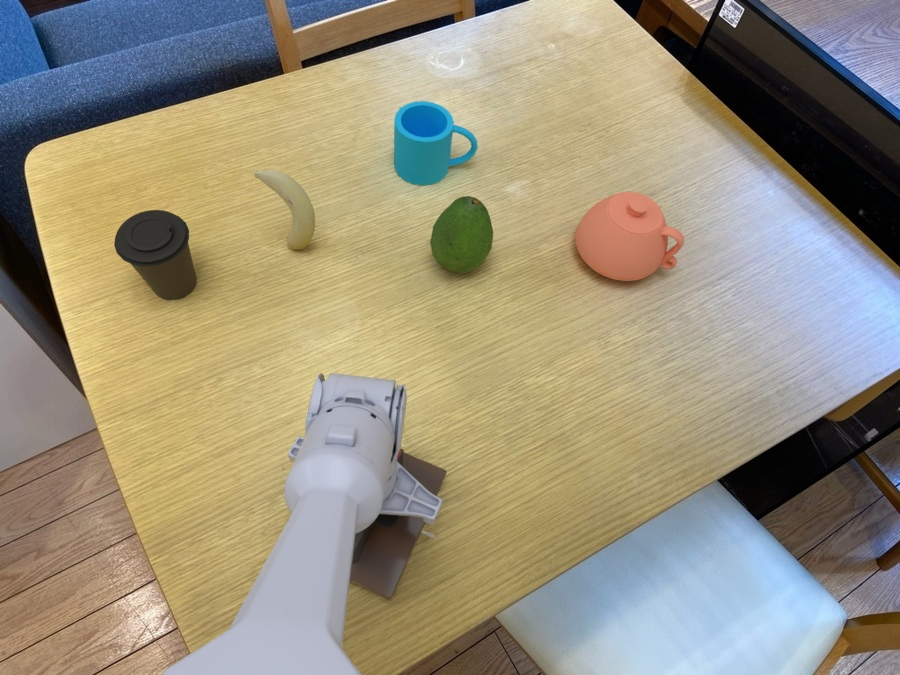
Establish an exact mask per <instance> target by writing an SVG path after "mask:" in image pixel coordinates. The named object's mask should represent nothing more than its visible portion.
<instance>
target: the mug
mask: <svg viewBox="0 0 900 675" xmlns="http://www.w3.org/2000/svg"><path fill="white" fill-rule="evenodd" d="M393 120H394V123H393V126H394V127H393V166H394V170H395V173H396V174H397V175H398V177H399V178H401V179H402V180H403V181H405V182H407V183H409V184H412V185H416V186H431V185H434V184H438V183H440V181H442V180H443V179H445V178H446V176H447V175H448V173H449V168H450V167H453V166H457V165H458V166H459V165H461V164H465V163H466V162H468V161H470V160H471V159H472V158H473V157H474V156H475V155H476V153H477V152H478V148H479V145H478V140H477V138H476V137H475V135H474V133H472V132H471V131H470V130H468V129H467V128H465V127H463V126H460V125H457V124H455V122H454V118H453V115H452V114H451V112H450V111H449V110H448V109H447V108H445V107H443V105H441V104H438V103H435V102H432V101H425V100H418V101H413V102H409V103H406V104H405V105H402V106H401V107H400V108H399V109H398V110H397V111H396V113H395V116H394V119H393ZM453 133H455V134H459V135H461V136H463V137H465V138H466V139H467V140H468V141H469V142H470V148H469V150H468V151H467V152H466V153H464V154H463V155H461V156H457V157H453V158H451V151H452V143H453V135H454V134H453Z"/></svg>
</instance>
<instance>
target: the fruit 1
mask: <svg viewBox="0 0 900 675" xmlns="http://www.w3.org/2000/svg"><path fill="white" fill-rule="evenodd" d="M254 177H255V178H256V179H258V180H260V181H261V182H262V183H264V184H265V185H266V186H267V187H268V188H270V189H271V190H272V191H273V192H275V193H276V194H277V195H278V196H279V197H280V199H282V200H283V202H284V203H285V205H286V206H287V207H288V209H289V211H290V214H291V222H292V223H291V226H290V230H289V233H288V236H287V242H286V244H287V245H286V246H287V247H288V249H290V250H303V249H305V248H306V247H307V246H308V245H309V243H310V242H312V239H313V238H314V235H315V230H316V214H315V209H314V206H313V204H312V201H311V198H310V197H309V194H307V192H306V191H305V189H304V188H303V187H302V186H301V184H300V183H299V182H298V181H297V180H295V178H293V177H292V176H290V175H288V174H287V173H286V172H283V171H280V170H276V169H265V170H255V171H254Z"/></svg>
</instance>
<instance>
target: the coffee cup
mask: <svg viewBox="0 0 900 675" xmlns="http://www.w3.org/2000/svg"><path fill="white" fill-rule="evenodd" d="M189 240H190V229H189V227H188V225H187V222H186V221H185V220H184V219H183V218H181V216H179V215H177V214H174V213H173V212H171V211H167V210H164V209H163V210H162V209H150V210H145V211H140V212H138V213H135V214H133V215H132V216H129V218H127V219H126V220H125V221H124V222H123V223H121V225H120V226H119V228H118V229H117V231H116V234H115V236H114V242H113V243H114V250H115V253H116V255H118V256H119V258H120V259H122V260H123V261H124V262H126V263H129V264H130V266H132V267H133V268H134V270H135V271H136V272H137V273H138V275H139V276H140V277H141V278H142V279H143V281H144V282H145V283H146V284H147V285H148V287H149V288H150V289H151V290H152V291H153V293H154V294H155V295H156V296H157V297H159V298H160V299H163V300H166V301H177V300H181V299H182V298H186V297H187V296H188V295H190V294H191V293H193V291H194V290H195V288H196V286H197V283H198V280H197V279H198V278H197V277H198V276H197V273H196V269H195V264H194V261H193V257H192V253H191V252H192V251H191V249H190V245H189Z"/></svg>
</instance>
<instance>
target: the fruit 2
mask: <svg viewBox="0 0 900 675" xmlns="http://www.w3.org/2000/svg"><path fill="white" fill-rule="evenodd" d="M493 228H494V227H493V224H492V220H491V216H490V214H489V211H488V209H487V207H486V206H485V205H484V203H483V202H482V201H481V200H480V199H478V198H476V197H474V196H471V195H465V196H460V197H458V198H456V199H454V201H452V202H451V204H449V205H448V207H446V208H444V210H443V211H442V212H441V213H440V214H439V216H438V218H437V219H436V220H435V223H434V224H433V226H432V230H431V236H430V241H429V244H430V248H431V253H432V257H433V258H434V260H435V262H436V263H437V264H438V265H439V266H441V268H444V269H446V270H449V271H450V272H453V273H454V274H466V273H470V272H473V271H474V270H477V268H479V267H480V266H481V265H482V264H483V263H484V261H485V260H486V258H487V257H488V256H489V254H490V252H491V250H492V247H493V240H494V229H493Z"/></svg>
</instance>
